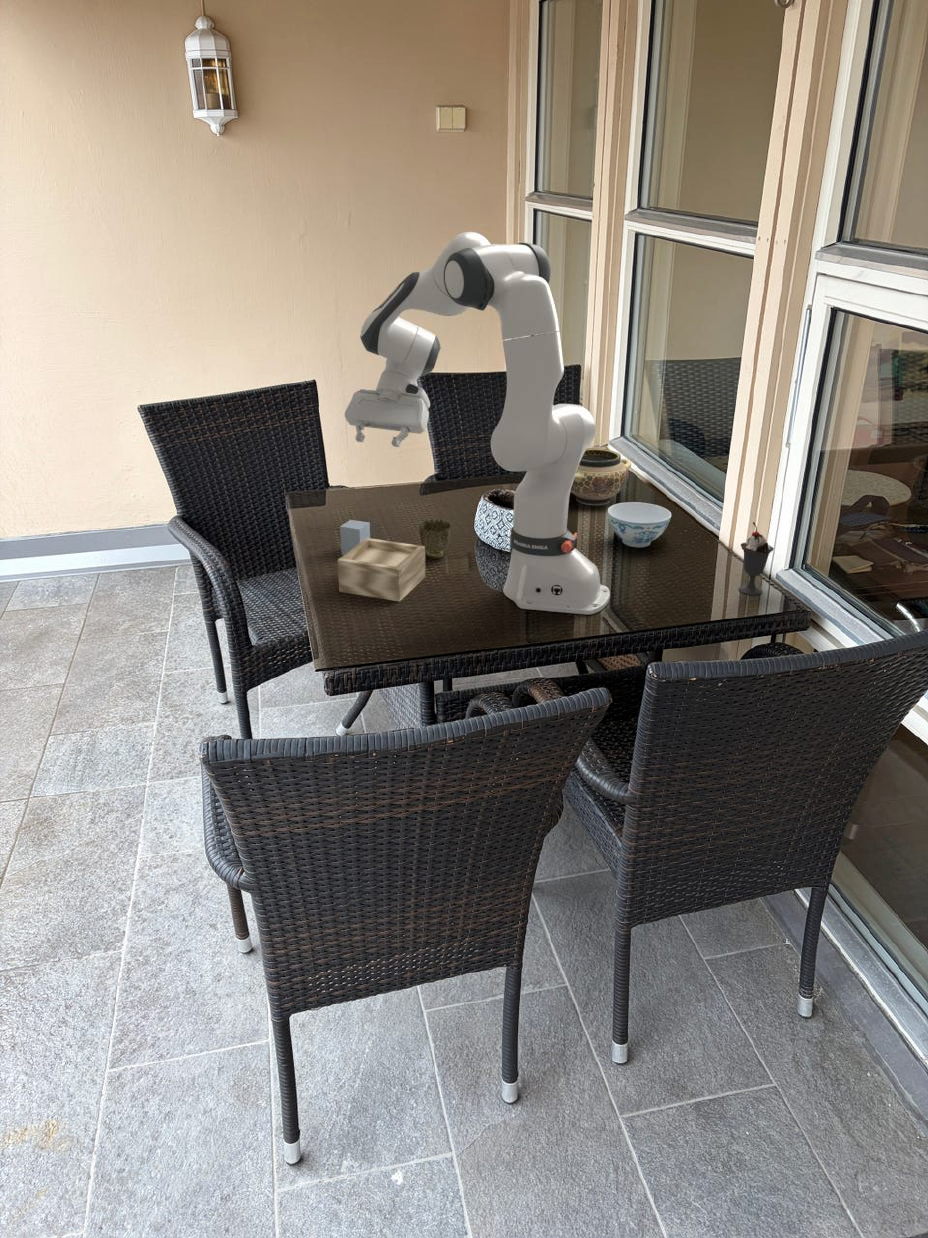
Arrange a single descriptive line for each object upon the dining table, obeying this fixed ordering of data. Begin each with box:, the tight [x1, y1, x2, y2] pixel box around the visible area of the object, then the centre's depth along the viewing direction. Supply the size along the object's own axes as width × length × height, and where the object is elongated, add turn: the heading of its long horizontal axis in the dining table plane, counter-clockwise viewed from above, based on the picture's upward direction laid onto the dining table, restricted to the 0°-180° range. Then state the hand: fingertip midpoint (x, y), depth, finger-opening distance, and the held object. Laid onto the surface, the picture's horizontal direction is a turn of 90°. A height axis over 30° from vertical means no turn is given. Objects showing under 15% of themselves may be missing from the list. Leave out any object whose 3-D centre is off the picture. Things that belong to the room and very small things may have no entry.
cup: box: [418, 518, 452, 560], centre depth 214 cm, size 8×7×8 cm
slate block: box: [339, 519, 371, 556], centre depth 216 cm, size 5×5×7 cm
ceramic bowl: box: [570, 447, 632, 506], centre depth 251 cm, size 24×18×15 cm
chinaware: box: [607, 501, 672, 548], centre depth 224 cm, size 15×15×8 cm
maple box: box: [337, 537, 426, 603], centre depth 200 cm, size 14×14×8 cm
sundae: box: [738, 521, 775, 596], centre depth 197 cm, size 7×7×15 cm
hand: (376, 443), depth 218 cm, fingers open, 8 cm apart
